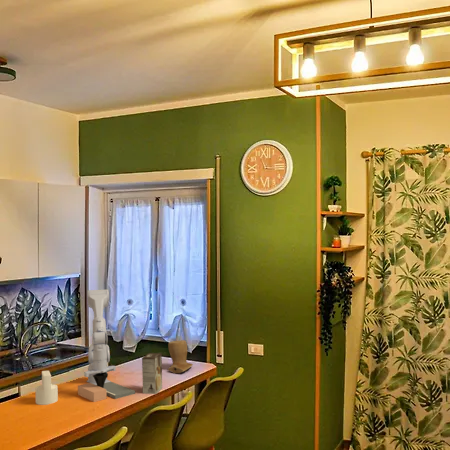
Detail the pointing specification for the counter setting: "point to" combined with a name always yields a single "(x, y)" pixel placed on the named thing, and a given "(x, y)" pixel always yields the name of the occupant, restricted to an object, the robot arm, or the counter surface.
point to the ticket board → (117, 390)
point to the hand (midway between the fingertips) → (100, 389)
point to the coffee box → (152, 373)
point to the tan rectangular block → (92, 392)
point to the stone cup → (178, 356)
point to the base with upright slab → (46, 390)
